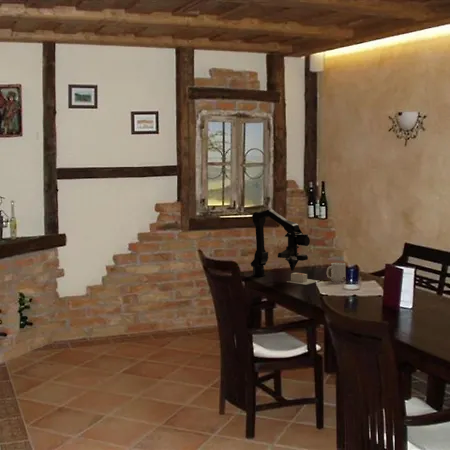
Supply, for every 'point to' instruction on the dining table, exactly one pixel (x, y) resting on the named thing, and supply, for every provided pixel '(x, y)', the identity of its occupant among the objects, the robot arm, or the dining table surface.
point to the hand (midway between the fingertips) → (292, 270)
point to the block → (299, 277)
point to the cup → (337, 271)
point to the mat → (303, 282)
